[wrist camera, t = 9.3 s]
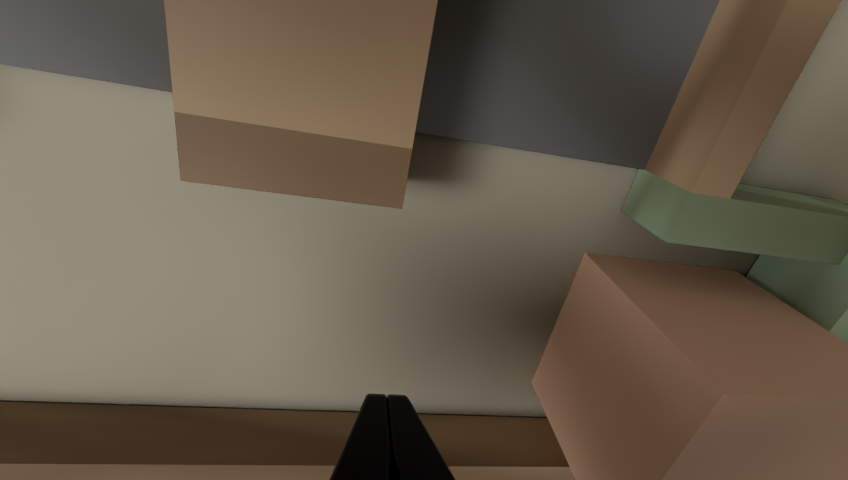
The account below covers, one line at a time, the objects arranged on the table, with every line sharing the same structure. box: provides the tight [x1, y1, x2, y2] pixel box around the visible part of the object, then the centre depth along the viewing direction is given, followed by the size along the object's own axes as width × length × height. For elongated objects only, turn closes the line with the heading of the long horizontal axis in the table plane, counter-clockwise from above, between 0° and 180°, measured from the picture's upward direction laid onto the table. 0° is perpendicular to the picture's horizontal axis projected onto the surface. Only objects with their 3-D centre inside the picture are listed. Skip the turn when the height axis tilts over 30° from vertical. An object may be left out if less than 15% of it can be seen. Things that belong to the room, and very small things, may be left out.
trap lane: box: [0, 0, 848, 480], centre depth 9 cm, size 16×25×2 cm, turn 79°
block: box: [531, 253, 848, 480], centre depth 10 cm, size 5×5×5 cm
